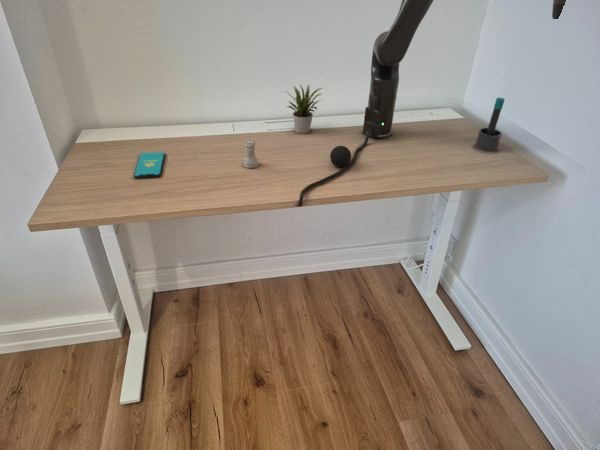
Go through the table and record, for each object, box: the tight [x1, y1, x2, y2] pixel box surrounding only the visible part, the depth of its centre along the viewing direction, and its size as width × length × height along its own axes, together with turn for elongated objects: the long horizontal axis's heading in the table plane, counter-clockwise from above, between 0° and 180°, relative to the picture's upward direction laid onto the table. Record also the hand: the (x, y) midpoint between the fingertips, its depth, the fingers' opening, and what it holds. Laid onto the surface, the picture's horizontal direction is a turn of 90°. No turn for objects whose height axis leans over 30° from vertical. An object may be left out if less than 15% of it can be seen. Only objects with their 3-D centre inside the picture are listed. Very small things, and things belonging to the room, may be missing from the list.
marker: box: [486, 97, 505, 136], centre depth 137 cm, size 2×2×16 cm
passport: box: [133, 151, 165, 179], centre depth 126 cm, size 7×1×15 cm
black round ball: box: [329, 145, 352, 168], centre depth 129 cm, size 6×6×10 cm
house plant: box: [283, 84, 323, 135], centre depth 146 cm, size 14×14×16 cm
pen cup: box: [474, 127, 503, 153], centre depth 140 cm, size 7×7×6 cm
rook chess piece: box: [243, 138, 259, 169], centre depth 126 cm, size 4×4×8 cm
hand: (562, 56), depth 133 cm, fingers open, 8 cm apart
